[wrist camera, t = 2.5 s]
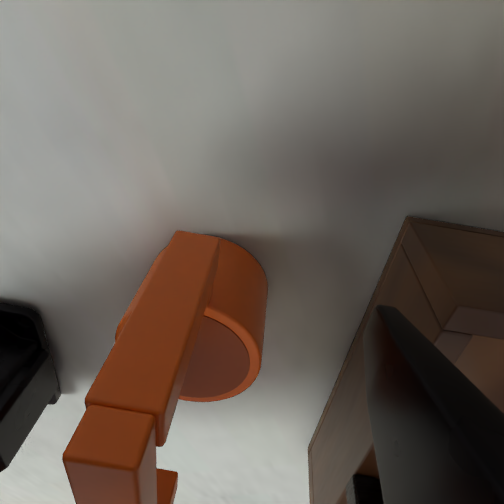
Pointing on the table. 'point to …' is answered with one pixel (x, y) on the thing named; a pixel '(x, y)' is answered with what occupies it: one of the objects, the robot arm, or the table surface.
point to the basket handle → (364, 490)
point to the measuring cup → (168, 366)
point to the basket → (430, 325)
